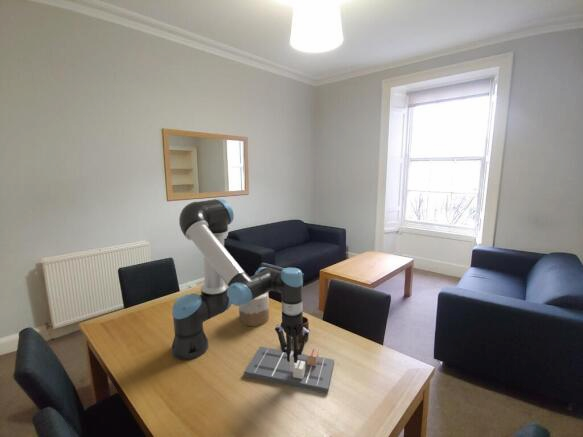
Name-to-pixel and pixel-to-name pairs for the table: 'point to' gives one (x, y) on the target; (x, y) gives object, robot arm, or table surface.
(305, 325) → the mug
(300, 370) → the block
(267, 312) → the vase
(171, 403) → the table surface
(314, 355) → the fader
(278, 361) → the console
